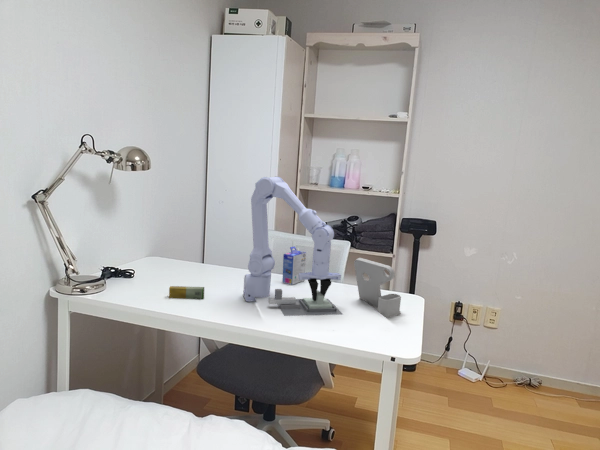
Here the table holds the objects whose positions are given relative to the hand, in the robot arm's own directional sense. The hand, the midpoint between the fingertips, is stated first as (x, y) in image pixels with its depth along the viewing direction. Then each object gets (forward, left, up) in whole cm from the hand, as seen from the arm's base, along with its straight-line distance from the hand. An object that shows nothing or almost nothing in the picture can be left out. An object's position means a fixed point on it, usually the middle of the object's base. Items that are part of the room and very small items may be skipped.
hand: (317, 299), depth 158 cm
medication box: (-43, +16, -4) cm, 46 cm away
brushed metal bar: (-12, 0, -1) cm, 12 cm away
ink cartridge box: (+1, +35, -4) cm, 35 cm away
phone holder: (+22, 0, -4) cm, 22 cm away
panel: (-3, 0, -4) cm, 5 cm away
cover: (0, 0, -2) cm, 2 cm away
